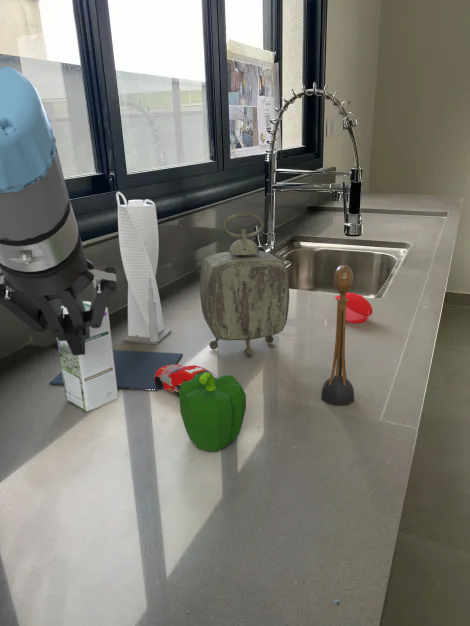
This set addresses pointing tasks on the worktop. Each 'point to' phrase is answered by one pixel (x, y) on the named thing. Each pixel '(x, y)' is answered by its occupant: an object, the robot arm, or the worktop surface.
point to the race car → (176, 376)
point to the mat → (136, 368)
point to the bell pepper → (212, 410)
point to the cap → (357, 308)
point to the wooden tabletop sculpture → (340, 346)
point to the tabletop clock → (244, 291)
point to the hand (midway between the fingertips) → (79, 345)
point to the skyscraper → (141, 269)
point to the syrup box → (90, 368)
